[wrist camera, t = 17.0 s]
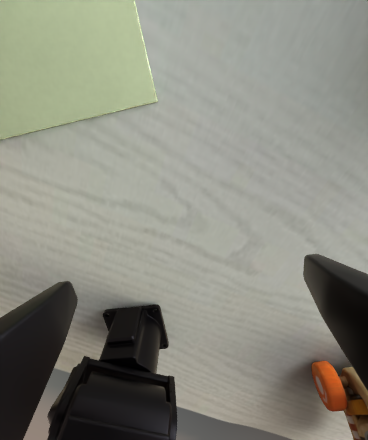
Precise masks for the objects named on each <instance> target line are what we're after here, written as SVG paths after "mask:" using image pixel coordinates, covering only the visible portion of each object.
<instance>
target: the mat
mask: <svg viewBox="0 0 368 440" xmlns="http://www.w3.org/2000/svg"><path fill="white" fill-rule="evenodd" d="M154 102H158V100H157V96H156V92H155V87H154V83H153V79H152V74H151V70H150V66H149V61H148V57H147V53H146V48H145V44H144V39H143V35H142V31H141V26H140V22H139V18H138V13H137V9H136V5H135V0H0V140H2V139H6V138H10V137H14V136H18V135H23V134H27V133H31V132H35V131H39V130H43V129H47V128H51V127H56V126H60V125H64V124H68V123H72V122H76V121H80V120H84V119H89V118H93V117H97V116H101V115H105V114H109V113H113V112H117V111H121V110H126V109H130V108H134V107H138V106H142V105H146V104H150V103H154Z"/></svg>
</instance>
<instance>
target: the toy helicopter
mask: <svg viewBox="0 0 368 440" xmlns="http://www.w3.org/2000/svg"><path fill="white" fill-rule="evenodd" d="M311 369H312V375H313V379H314V383H315V386H316V389H317V391H318V393H319V396H320V398H321V400H322V402H323V403H324V405H325V406H326V408H327V409H328V410H330V411H343V410H344V413H345V415H346V418H347V421H348V424H349V427H350V429H351V432H352V435H353V439H354V440H368V391H367V389H366V388H365V386H364V385H363V383H362V381H361V380H360V378H359V376H358V375H357V373H356V372H355V370H354V368H353V367H346V368H343V369H342V373H341V375H340V377H339V376H338V374H337V372H336V371H335V369H334V368H333V366H332V365H331V364H330V363H329V362H327V361H319V362H314V363H313V364H312V366H311Z"/></svg>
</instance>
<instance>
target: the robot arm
mask: <svg viewBox="0 0 368 440" xmlns="http://www.w3.org/2000/svg"><path fill="white" fill-rule="evenodd" d="M303 275H304V280H305V282H306V284H307V286H308V288H309V290H310V293H311V295H312V297H313V299H314V301H315V303H316V305H317V307H318V309H319V312H320V314H321V316H322V317H323V319H324V321H325V323H326V324H327V326H328V328H329V329H330V331H331V332H332V334H333V336H334V337H335V339H336V341H337V342H338V344H339V345H340V347H341V349H342V350H343V352H344V354H345V355H346V357H347V359H348V360H349V362H350V363H351V365H352V367H353V368H354V370H355V372H356V373H357V375H358V376H359V378H360V380H361V381H362V383H363V385H364V386H365V388H366V389H367V391H368V274H366V273H363V272H361V271H358V270H356V269H353V268H351V267H348V266H346V265H344V264H341V263H339V262H336V261H334V260H331V259H329V258H326V257H324V256H321V255H319V254H311V255H306V256H305V259H304V272H303ZM76 306H77V296H76V293H75V291H74V288H73V286H72V284H71V282H69V281H65V282H58V283H57V284H55V285H53V286H52V287H50V288H48V289H47V290H45V291H43V292H42V293H40V294H39V295H37V296H35V297H34V298H32V299H30V300H29V301H27V302H25V303H24V304H22V305H21V306H19V307H17V308H16V309H14V310H12V311H11V312H9V313H7V314H6V315H4V316H3V317H1V318H0V440H23V438H24V436H25V433H26V431H27V429H28V427H29V424H30V422H31V420H32V417H33V415H34V412H35V410H36V408H37V406H38V403H39V401H40V399H41V396H42V394H43V392H44V389H45V387H46V385H47V382H48V380H49V378H50V375H51V373H52V371H53V368H54V366H55V364H56V361H57V359H58V357H59V354H60V352H61V350H62V347H63V345H64V342H65V340H66V337H67V334H68V331H69V328H70V325H71V321H72V318H73V315H74V312H75V309H76ZM155 309H157V310H155ZM108 314H109V315H108ZM103 317H104V320H105V323H106V325H107V328H108V331H109V333H108V336H107V339H106V343H105V345H104V348H103V351H102V354H101V356H100V359H99V360H94V359H90V357H86V356H84V357H83V359H82V361H81V363H80V364H78V365H77V366H76V367H74V368H73V370H72V372H71V374H70V377H69V379H68V381H67V383H66V385H65V387H64V389H63V390H62V392H61V393H60V394H59V396H58V398H57V399H56V401H55V402H54V404H53V405H52V407H51V409H50V411H49V413H48V420H49V423H50V428H49V436H48V440H176V431H177V408H176V395H175V382H174V377H173V376H164V375H160V374H156V371H157V363H158V355H159V349H166V348H168V344H169V342H168V338H167V334H166V329H165V325H164V321H163V317H162V312H161V308H160V306H159V305H148V306H138V307H128V308H118V309H108V310H105V311H104V313H103Z"/></svg>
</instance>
